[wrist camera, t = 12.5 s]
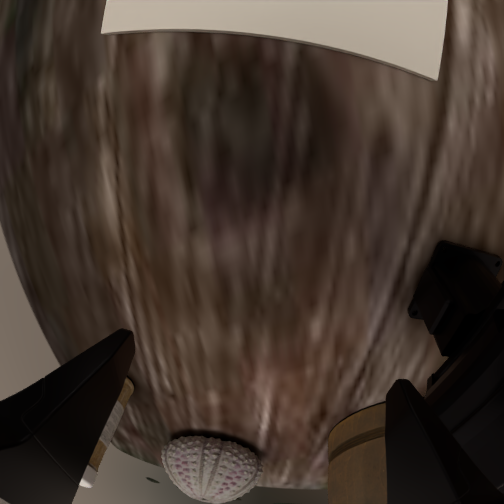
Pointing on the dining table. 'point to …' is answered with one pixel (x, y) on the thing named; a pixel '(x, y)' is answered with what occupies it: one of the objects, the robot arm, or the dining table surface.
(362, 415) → the wooden container
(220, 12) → the socket board
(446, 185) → the dining table surface
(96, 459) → the sprinkles bottle
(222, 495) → the sea urchin shell
